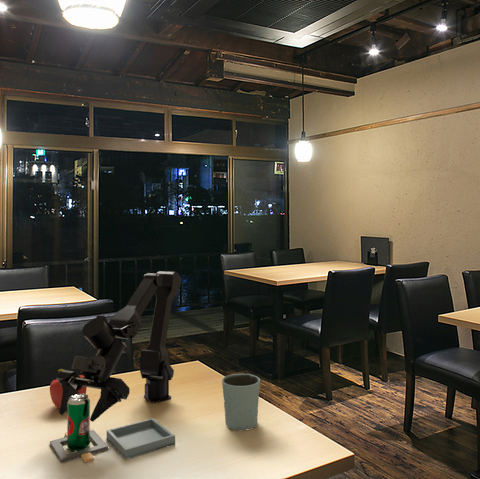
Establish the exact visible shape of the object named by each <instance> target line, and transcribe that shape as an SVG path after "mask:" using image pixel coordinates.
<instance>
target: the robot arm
mask: <svg viewBox="0 0 480 479" xmlns="http://www.w3.org/2000/svg"><path fill="white" fill-rule="evenodd" d="M181 284H182V276H180V274H179V273H178V272H177V271H164V270H163V271H161V270H159V271H157V272H156V273H154V272H153V273H150V272H147V273H145V274H144V275H143V276H142V281H141V282H140V284H139V286H138V287H137V289H136V290H135V292H134V293H133V295H132V296H131V297H130V299H129V301H128V302H127V303H126V306H124V307H123V308H122V309H119V310H118V311H117V312H116V313H115V314H114V315H113V316H112V317H111V318H110V319H109V321H108V319H107V318H106V316H105V315H102V314H97V315H96V316H95V318H92V319H90V320H89V321H88V322H87V323H85V324H84V325H83V327H82V331H81V332H82V335H83V337H84V338H85V339H86V340H87V341H88V342H89V343H90V344H91V345H92V346H93V348H94V349H96V350H97V352H96V354H95V355H91V356H90V357H86V356H85V357H84V356H79V355H75V357H74V358H73V363H72V366H71V370H68V369H67V370H66V369H64V370H63V371H61V372H58V375H57V377H56V379H55V380H58V381H59V384H60V385H61V386H62V389H63V393H62V400H61V405H60V408H59V412H58V414H59V415H60V416H64V414H65V413H66V412H67V402H68V401H69V397H70V396H72V395H76V394H79V392H78V391H79V390H80V389H81V388H82V386H84V387H87V388H91V389H97V390H100V395H99V398H98V400H97V402H96V404H95V407H94V408H93V411H92V413H91V414H90V422H95V421H96V420H97V419H98V418H99V417H101V416H102V415H103V414H104V413H105V412H106V411H107V410H109V409H110V408H112V407H113V406H114V405H116V404H117V403H121V402H122V400H127V399H128V397H129V394H130V392H131V390H130V387H129V386H128V384H127V383H126V382H125V381H124V380H123V379H122V378H121V377H120V378H119V377H118V378H117V377H112V374H113V373H114V374H116V373H117V370H118V369H117V367H116V366H117V363H118V362H119V359H120V358H121V355H122V354H128V353H129V348H128V344H127V342H123V341H122V339H124V340H125V339H126V340H132V339H134V338H135V337H136V336H137V334H138V332H139V329H140V328H141V324H142V323H141V317H142V314H143V313H144V311H145V309H147V306H148V305H149V303H150V301H151V299H152V298H153V296H154V295H155V299H156V300H155V307H154V311H153V318H152V324H151V331H150V337H149V344H148V345H147V346H146V348H144V349H141V352H140V357H139V361H138V368H139V372H140V376H141V379H145V383H144V395H143V398H145V399H146V400H147V401H149V402H151V403H152V404H153V403H158V402H162V401H167V400H170V399H172V396H171V395H170V381H172V380H173V378H174V372H175V369H173V367H172V365H170V363H169V358H170V356H169V352H168V351H167V348H166V343H167V336H168V330H169V324H170V319H171V318H170V316H171V310H172V304H173V300H174V299H175V297H176V296H177V295H178V293H179V291H180V287H181ZM72 370H73V371H72ZM74 370H77V371H79V374H80V375H83V376H84V378H81V377H80V375H79V374H78V373H76V371H74Z"/></svg>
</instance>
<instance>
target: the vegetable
mask: <svg viewBox="0 0 480 479" xmlns="http://www.w3.org/2000/svg"><path fill="white" fill-rule="evenodd" d="M63 370H65V369H63V368H60V369H58V370H57V372H58V373H60V372H61V371H63ZM79 376H80V377H81V378H84V376H83V375H81V374H80V375H79ZM87 388H88V387H84V386H82V388H81V389H80V390H79V391H78V392H79V394H86V395H87ZM62 393H63V389H62V386H61V385H60V384H59V381H58V380H57V379H53V380H52V381H51V383H50V385H49V395H50V398H51V401H52V402H51V403H53V405H54V406H55V407H56V408H58V409H60V405H61V400H62Z"/></svg>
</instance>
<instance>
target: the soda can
mask: <svg viewBox="0 0 480 479" xmlns="http://www.w3.org/2000/svg"><path fill="white" fill-rule="evenodd" d="M66 412H67V413H66V416H67V417H66V418H67V419H66V420H67V421H66V424H67V425H66V428H67V429H66V430H67V443H66V444H67V449H68V450H69V451H72V452H76V451H79V450H83V449H87V448H89V446H90V444H91V439H90V431H91V420H90V418H91V400H90V398H89V395H88V394H87V393H86V394H76V395H72V396H70V397H69V401H68V402H67V411H66Z"/></svg>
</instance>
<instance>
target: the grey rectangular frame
mask: <svg viewBox="0 0 480 479" xmlns="http://www.w3.org/2000/svg"><path fill="white" fill-rule="evenodd" d="M64 436H65V437H61V438H57V439H53V440H49V445H50V447H51V449H52V450H53V452H54V454H55V455H56V456H57V458H58V460H59V461H60V463H61V464H62V463H65V462H70V461H72V460H76V459H82V460H83V462H84V464H86V463H89V462H93V461H95V457H94V454H98V453H101V452H104V451H107V450H109V445H108V444H107V443H106V442H105V440H103V438H102V437H101V436H100V435H99V434H98V433H97V432H96V431H95V429H91V430H90V442H92V443H93V444H94V446H91V447H87V448H86V449H83V450H79V451H72V452H69V453H68V452H67V451H66V449H65V447H63V445H66V444H67V432H64Z"/></svg>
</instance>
